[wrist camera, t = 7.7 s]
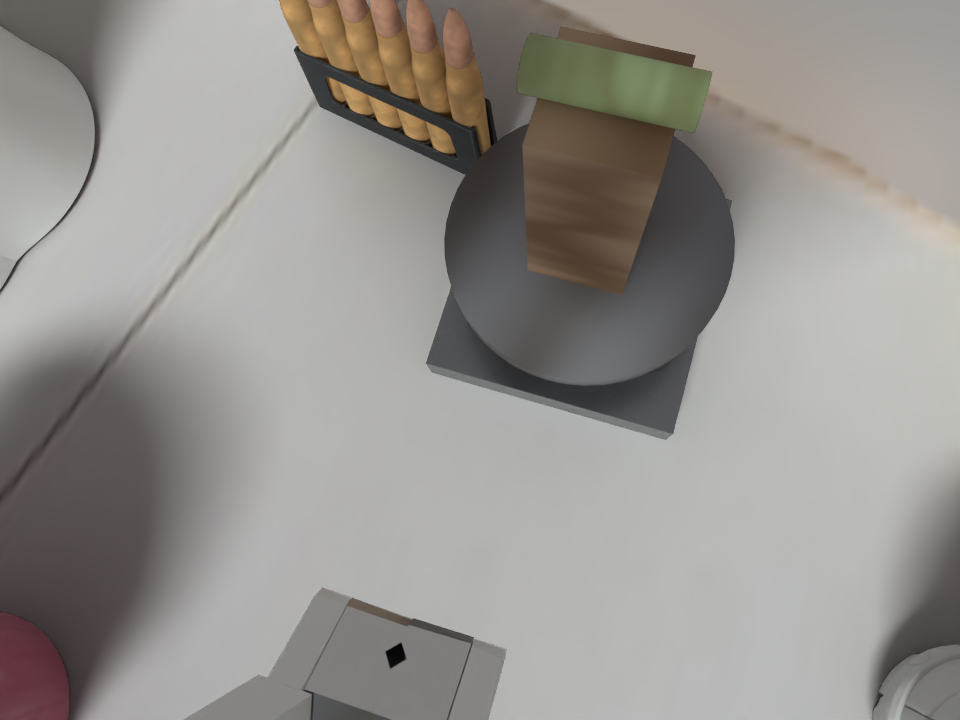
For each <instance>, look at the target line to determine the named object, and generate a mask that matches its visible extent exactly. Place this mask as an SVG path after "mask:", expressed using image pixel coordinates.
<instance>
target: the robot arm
mask: <svg viewBox="0 0 960 720" xmlns="http://www.w3.org/2000/svg"><path fill="white" fill-rule="evenodd" d="M94 142H95V125H94V117H93V112H92V108H91V104H90V102H89V99H88V96H87V94H86V92H85V90H84V88H83V87H82V85H81V83H80V82H79V80H78V79H77V78H76V77H75V75H74V74H73V73H72V72H71V71H70V70H69V69H68V68H67V67H66V66H65V65H63V64H62V63H61V62H60V61H58V60H57V59H55V58H53V57H52V56H50V55H48V54H46V53H44V52H42V51H41V50H39V49H37V48H35V47H33V46H31V45H30V44H28V43H26V42H24V41H23V40H21V39H19V38H18V37H16V36H15V35H13V34H12V33H10V32H9V31H7V30H6V29H4V28H3V27H1V26H0V289H1V287H2V286H3V284H4V283H5V281H6V279H7V278H8V276H9V274H10V273H11V271H12V269H13V267H14V265H15V264H16V262H17V260H18V259H19V258H20V257H21V256H22V255H23V254H24V253H25V252H26V251H27V250H28V249H29V248H30V247H32V246H33V245H34V244H35V243H36V242H38V241H39V240H40V239H41V238H42V237H43V236H45V235H46V234H47V233H48V232H49V231H50V230H51V229H52V228H53V227H54V226H55V225H56V224H57V223H58V222H59V221H60V219H61V218H62V217H63V216H64V214H65V213H66V212H67V211H68V209H69V208H70V206H71V205H72V204H73V202H74V200H75V199H76V197H77V195H78V194H79V192H80V190H81V188H82V186H83V184H84V181H85V179H86V176H87V174H88V171H89V168H90V164H91V161H92V156H93V151H94ZM473 641H474V642H473ZM505 655H506V649H505V648H502V647H499V646H495V645H492V644H489V643H486V642H482V641H479V640H476V639H474V637H471V636H468V635H465V634H461V633H458V632H455V631H452V630H449V629H446V628H442V627H439V626H436V625H433V624H430V623H427V622H423V621H420V620H417V619H414V618H413V619H411V618H408V617H405V616H402V615H399V614H397V613H394V612H391V611H388V610H385V609H382V608H380V607H377V606H374V605H371V604H368V603H365V602H363V601H360V600H357V599H354V598H352V597H349V596H346V595H343V594H340V593H337V592H334V591H331V590H328V589H325V588H322V589H321V590H320V591H319V592H318V593H317V594H316V595H315V596H314V598H313V599H312V601H311V603H310V605H309V606H308V608H307V610H306V611H305V613H304V615H303V617H302V618H301V620H300V622H299V624H298V625H297V627H296V629H295V631H294V632H293V634H292V636H291V638H290V639H289V641H288V643H287V644H286V646H285V648H284V650H283V651H282V653H281V655H280V657H279V658H278V660H277V662H276V664H275V665H274V667H273V669H272V670H271V672H270V674H269V676H268V677H264V676H261V675H257V676H256V677H254V678H252V679H251V680H249V681H247V682H246V683H244V684H242V685H241V686H239V687H237V688H236V689H234V690H232V691H230V692H229V693H227V694H225V695H224V696H222V697H220V698H219V699H217V700H215V701H214V702H212V703H210V704H209V705H207V706H205V707H204V708H202V709H200V710H199V711H197V712H195V713H194V714H192V715H190V716H189V717H187V718H185V719H184V720H488V719H489V715H490V711H491V708H492V704H493V700H494V696H495V693H496V689H497V685H498V682H499V678H500V674H501V671H502V667H503V663H504V659H505Z"/></svg>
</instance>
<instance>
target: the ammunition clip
mask: <svg viewBox="0 0 960 720" xmlns="http://www.w3.org/2000/svg"><path fill="white" fill-rule="evenodd" d="M279 1H280V6H281V9H282V12H283V15H284V17H285V19H286V21H287V23H288V25H289V27H290V29H291V32H292V34H293V36H294V38H295V40H296V42H297V44H298V46H299V47H298V46H296V48H295V49H294V52H295V54H296V56H297V58H298V61H299V63H300V65H301V67H302V69H303V71H304V74H305V76H306V78H307V80H308V82H309V84H310V86H311V89H312V91H313V93H314V95H315V97H316V99H317V101H318V104H319V106H320V107H322V108H324V109H326V110H328V111H330V112H332V113H334V114H337V115H339V116H341V117H343V118H345V119H347V120H349V121H352V122H354V123H356V124H358V125H360V126H362V127H364V128H367V129H369V130H371V131H373V132H375V133H377V134H379V135H382V136H384V137H386V138H388V139H390V140H392V141H394V142H396V143H399V144H401V145H403V146H405V147H407V148H409V149H411V150H414V151H416V152H418V153H420V154H422V155H424V156H426V157H429V158H431V159H433V160H435V161H437V162H439V163H441V164H444V165H446V166H448V167H450V168H452V169H454V170H456V171H459V172H461V173H463V174H465V175H466V174H467V172H468V171H469V170H470V169H471V167H472V166H473V165H474V163H475V162H476V161H477V160H478V159H479V158H480V157H481V156H482V155H483V154H484V153H485V152H486V151H487V150H488V149H489V148H490V147H491V146H492V145H494V144H495V143H496V142H497V137H496V132H495V127H494V121H493V115H492V109H491V103H490V100H488V99H486V98H484V92H483V84H482V77H481V73H480V71H479V69H478V66H477V64H476V60H475V55H474V52H473V48H472V42H471V39H470V35H469V32H468V29H467V27H466V25H465V23H464V21H463V19H462V17H461V15H460V14H459V13H458V12H457V11H456V10H455V9H454V8H450V9H449V10H448V12H447V14H446V17H445V21H444V28H443V45H444V52H443V50H442V48H441V46H440V42H439V38H438V36H437V33H436V28H435V25H434V22H433V19H432V17H431V14H430V12H429V10H428V8H427V6H426V4H425V3H424V1H423V0H407V7H406V23H407V32H408V33H407V32H406V29H405V26H404V23H403V21H402V19H401V15H400V12H399V9H398V7H397V4H396V2H395V0H370V8H371V11H370V9H369V6H368V4H367V2H366V0H279ZM299 48H300V49H299ZM300 50H301V51H300ZM444 53H445V54H444Z"/></svg>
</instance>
